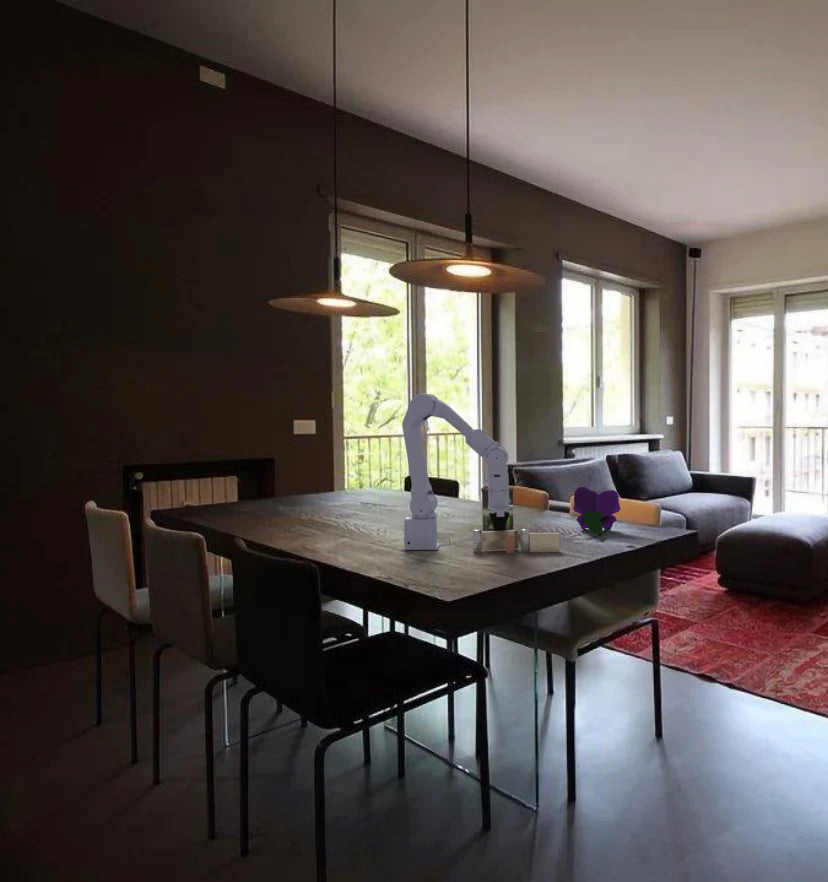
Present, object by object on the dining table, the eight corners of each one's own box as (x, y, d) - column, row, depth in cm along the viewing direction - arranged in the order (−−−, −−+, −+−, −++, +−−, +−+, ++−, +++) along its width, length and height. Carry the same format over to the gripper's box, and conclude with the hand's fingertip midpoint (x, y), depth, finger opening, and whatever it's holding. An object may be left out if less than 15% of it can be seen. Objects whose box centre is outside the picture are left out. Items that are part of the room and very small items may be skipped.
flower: (624, 552, 194) (618, 525, 206) (627, 512, 187) (621, 486, 198) (574, 551, 197) (572, 524, 208) (576, 512, 190) (573, 486, 201)
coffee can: (518, 533, 201) (518, 489, 201) (487, 535, 199) (486, 490, 199) (507, 528, 211) (506, 485, 211) (477, 530, 209) (476, 487, 209)
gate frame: (473, 553, 174) (472, 531, 174) (473, 550, 177) (472, 529, 177) (560, 553, 172) (559, 530, 172) (558, 550, 175) (558, 528, 175)
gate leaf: (483, 550, 176) (483, 532, 175) (481, 549, 177) (481, 531, 177) (518, 548, 177) (518, 530, 177) (516, 547, 179) (516, 529, 178)
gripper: (515, 492, 170) (516, 543, 171) (510, 486, 185) (512, 533, 185) (488, 493, 171) (489, 543, 171) (486, 487, 185) (487, 533, 186)
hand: (499, 538), depth 178 cm, fingers closed, pressing on gate leaf
